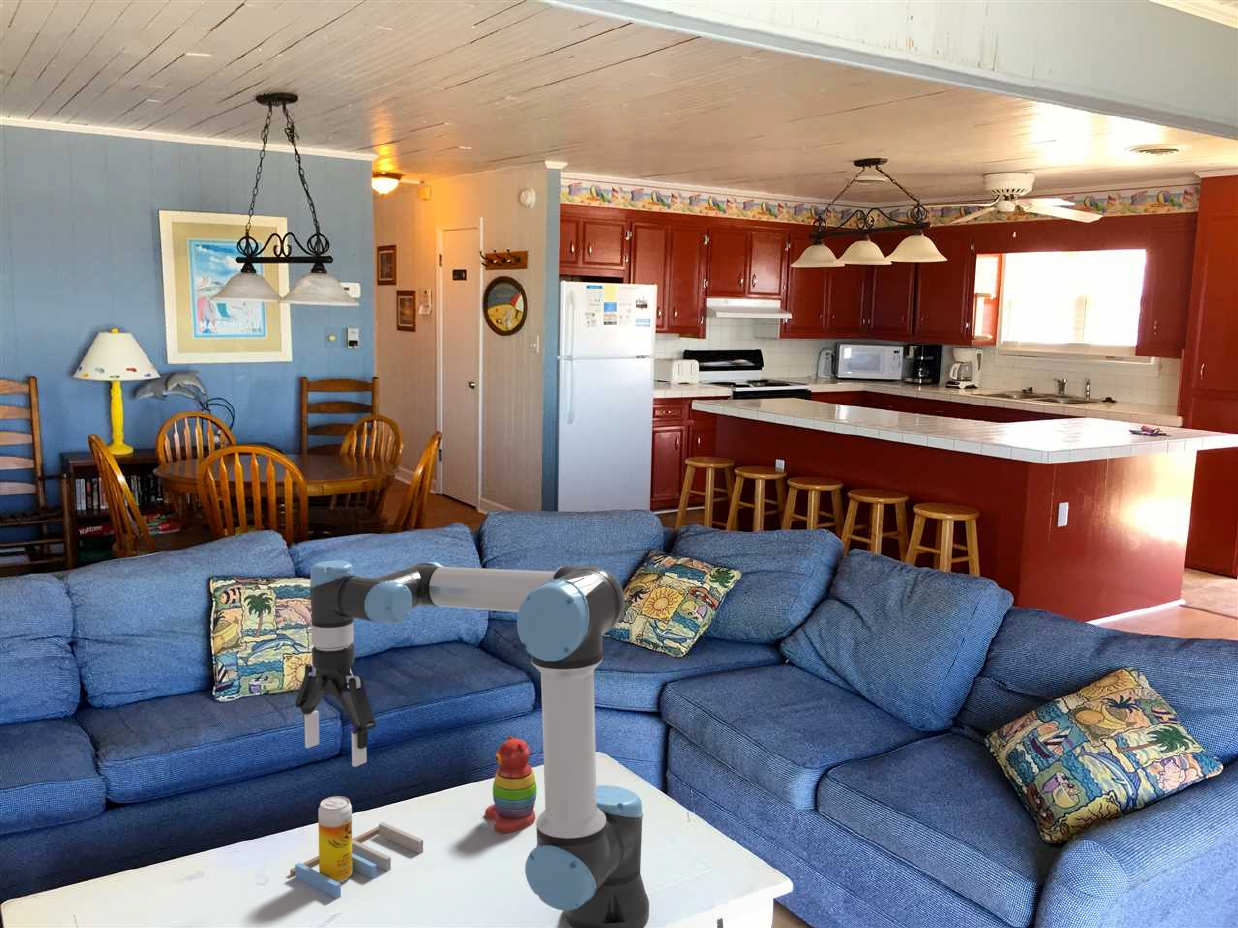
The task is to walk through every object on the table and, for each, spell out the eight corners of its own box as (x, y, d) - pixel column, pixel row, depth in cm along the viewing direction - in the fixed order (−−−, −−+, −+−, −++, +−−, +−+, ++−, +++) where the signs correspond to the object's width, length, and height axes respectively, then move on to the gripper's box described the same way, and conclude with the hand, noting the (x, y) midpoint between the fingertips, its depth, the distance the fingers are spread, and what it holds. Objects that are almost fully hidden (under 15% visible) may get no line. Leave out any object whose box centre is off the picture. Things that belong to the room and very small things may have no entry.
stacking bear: (482, 812, 219) (483, 734, 217) (526, 804, 224) (527, 727, 221) (498, 835, 210) (498, 753, 207) (543, 826, 214) (545, 746, 212)
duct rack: (423, 851, 202) (423, 839, 202) (336, 898, 185) (336, 885, 185) (377, 830, 210) (377, 819, 210) (290, 874, 193) (290, 862, 192)
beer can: (343, 887, 189) (342, 811, 187) (313, 883, 190) (312, 807, 188) (358, 870, 195) (357, 797, 193) (328, 866, 196) (327, 793, 194)
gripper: (394, 652, 182) (396, 764, 185) (307, 628, 197) (309, 732, 199) (361, 663, 176) (363, 779, 179) (274, 636, 191) (277, 744, 193)
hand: (335, 754), depth 189 cm, fingers open, 13 cm apart
